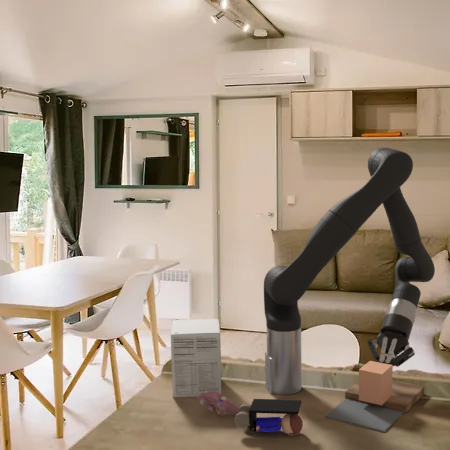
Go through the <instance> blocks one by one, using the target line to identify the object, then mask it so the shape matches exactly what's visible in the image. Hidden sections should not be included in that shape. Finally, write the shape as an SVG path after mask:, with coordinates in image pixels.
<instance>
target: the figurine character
mask: <svg viewBox="0 0 450 450" xmlns="http://www.w3.org/2000/svg"><path fill="white" fill-rule="evenodd" d="M301 406H302V400H301V399H277V398H271V399H270V398H253V400H252V403H251V404H250V403H242V404H241V405H240V406H239V407H238V408H239V410H238V413H237V415H235V417H234V423H235V424H236V426H237V427H239V428H242V429H244V428H245V429H246V428H248V429H249V430H246V431H245V432H244V434H257V433H259V432H267V433H269V432H278V431H280V432H281V430H282V431H283V432H284V433H285V434H286V435H288V436H296V435H298V434H300V433H301V431H302V429H303V425H304V424H303V423H304V422H303V420H302V417H301V416H300V415H299V413H300V410H301ZM257 414H273V415H275V414H276V415H279V414H280V415H281V414H282V415H283V416H282V417H281V416H267V417H266V416H265V417H262V416H261V417H257Z"/></svg>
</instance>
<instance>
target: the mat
mask: <svg viewBox="0 0 450 450" xmlns="http://www.w3.org/2000/svg"><path fill="white" fill-rule="evenodd" d="M402 415H404V413H403V412H402V411H398V410H393V409H389V408H385V407H381V406H376V405H372V404H368V403H364V402H360V401H355V400H351V399H347V398H346V399H345V398H344V400H343V401H341V402H340V403H339V404H337V405H336V406H335V407H334V408H333V409H332V410H330V411H329V412H328V413H327V414H325V415H324V416H325V418H328V419H331V420H335V421H339V422H343V423H346V424H351V425H353V426H358V427H361V428H365V429H370V430H373V431H377V432H381V433H386V432H387V431H388V430H389V429H390V428H391V427H392V425H394V424H395V422H396V421H397V420H399V418H400V417H401V416H402Z"/></svg>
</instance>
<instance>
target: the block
mask: <svg viewBox="0 0 450 450" xmlns="http://www.w3.org/2000/svg"><path fill="white" fill-rule="evenodd" d="M393 367H394V366H393V365H389V364H384V363H379V362H376V361H373V360H369V361H368V362H367V363H365V364H364V365H362V366H361V367H360V368H359V369H358V381H359V400H361V401H365V402H369V403H374V404H378V405H383V404H384V403H385V402H386V401H387V400H388V399H389V398H390V397H391V396H392V380H393Z"/></svg>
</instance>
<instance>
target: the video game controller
mask: <svg viewBox="0 0 450 450" xmlns="http://www.w3.org/2000/svg"><path fill="white" fill-rule="evenodd" d="M197 399H198V401H199V403H200V405H203V406H205V408H206V409H207V410H208V411H210V412H212V413H214V412H215V411H216V413H217V414H218V415H220V416H222V417H223V416H224V415H225V414H228V415H230V416H236V415H237V413H238V410H239V408H240V407H239V406H238V405H236V404H234V403H233V402H231V400H230V399H228V398H227V397H225V395H224V396H223V395H222V394H221V395H220V394H219V393H218V392H215V391H210V392H208V391H207V390H205V392H203V393H201V394H200V395H199V396H198V397H197Z"/></svg>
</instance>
